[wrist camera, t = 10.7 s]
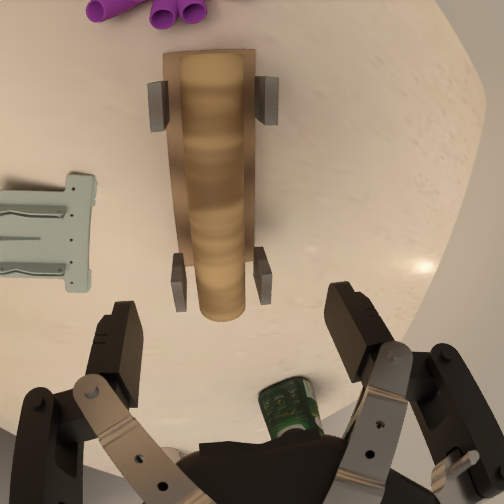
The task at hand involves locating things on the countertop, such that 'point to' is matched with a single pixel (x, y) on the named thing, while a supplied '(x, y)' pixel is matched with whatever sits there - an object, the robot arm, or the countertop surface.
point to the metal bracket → (48, 233)
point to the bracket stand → (170, 117)
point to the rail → (215, 178)
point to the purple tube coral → (162, 12)
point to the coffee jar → (290, 407)
